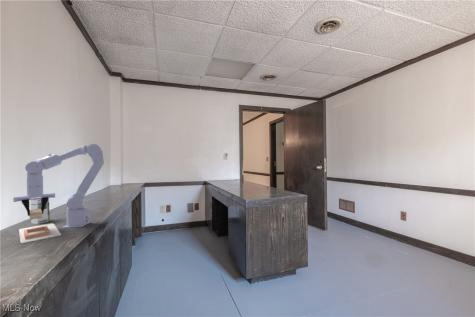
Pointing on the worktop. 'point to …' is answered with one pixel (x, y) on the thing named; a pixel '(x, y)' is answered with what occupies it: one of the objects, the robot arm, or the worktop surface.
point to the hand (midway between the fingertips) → (35, 214)
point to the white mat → (51, 227)
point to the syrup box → (37, 205)
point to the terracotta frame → (36, 233)
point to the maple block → (35, 214)
